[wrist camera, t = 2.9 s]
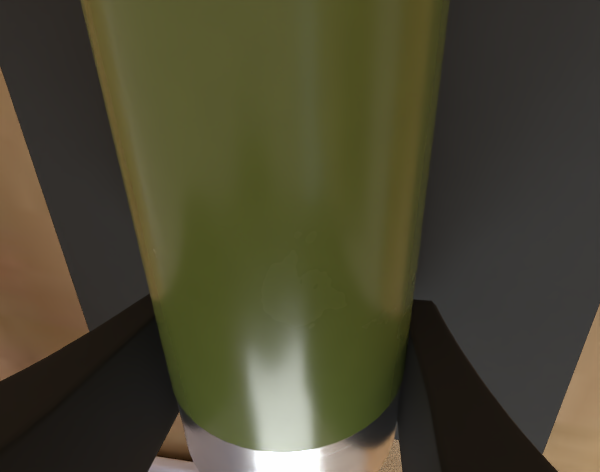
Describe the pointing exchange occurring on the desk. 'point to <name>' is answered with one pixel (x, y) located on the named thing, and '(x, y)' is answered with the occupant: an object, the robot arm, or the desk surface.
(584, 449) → the desk surface
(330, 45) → the can
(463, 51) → the mat
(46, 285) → the desk surface
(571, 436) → the desk surface
